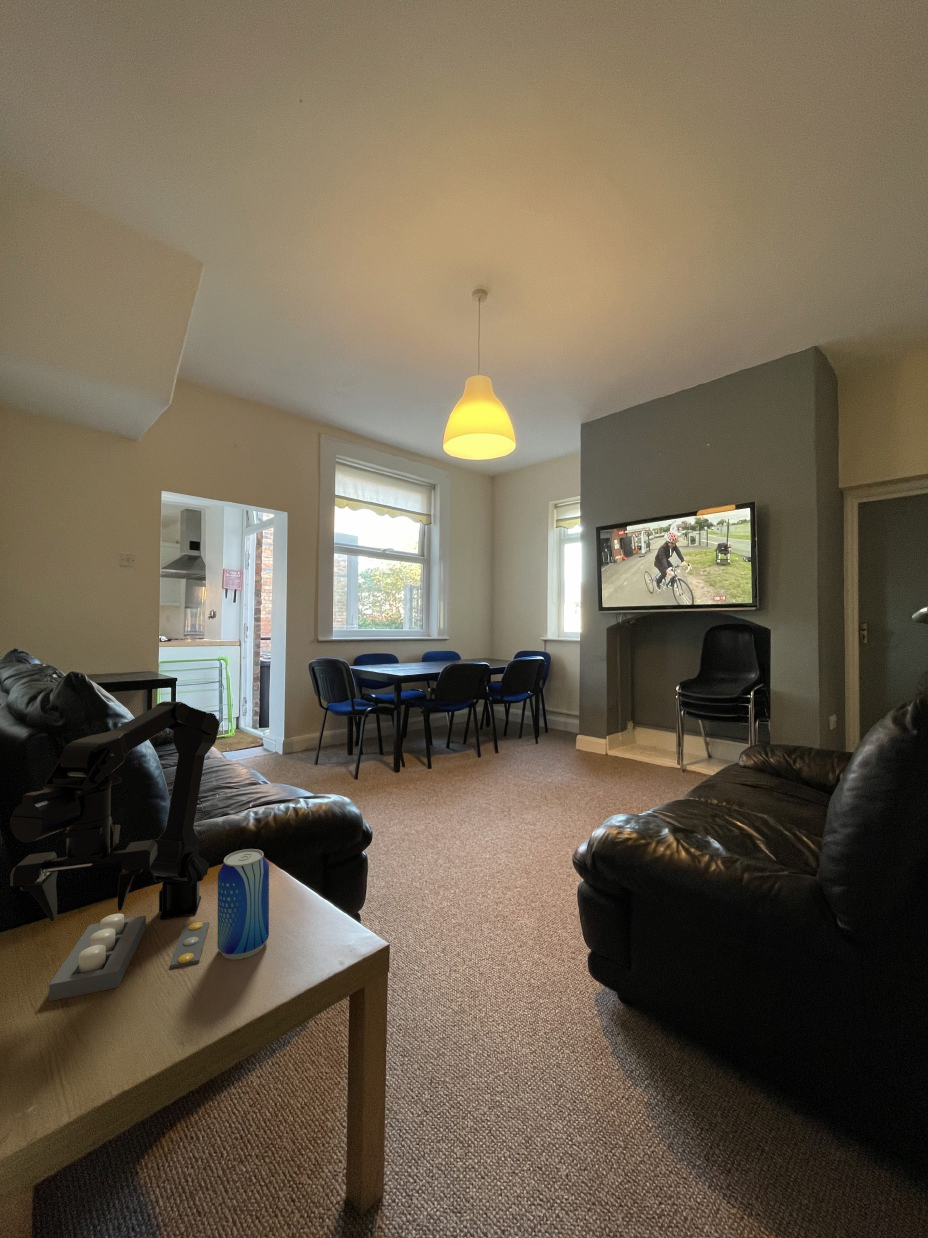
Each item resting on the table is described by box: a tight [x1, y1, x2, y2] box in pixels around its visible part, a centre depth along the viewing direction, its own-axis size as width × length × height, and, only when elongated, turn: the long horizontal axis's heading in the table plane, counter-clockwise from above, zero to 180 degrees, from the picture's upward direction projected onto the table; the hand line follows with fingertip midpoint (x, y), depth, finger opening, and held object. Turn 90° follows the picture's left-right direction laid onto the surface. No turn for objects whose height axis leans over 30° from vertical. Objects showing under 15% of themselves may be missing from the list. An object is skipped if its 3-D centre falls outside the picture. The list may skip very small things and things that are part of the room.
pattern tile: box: [169, 921, 210, 969], centre depth 92 cm, size 4×12×1 cm, turn 19°
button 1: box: [79, 945, 106, 973], centre depth 83 cm, size 4×4×2 cm
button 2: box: [99, 913, 125, 936], centre depth 93 cm, size 4×4×2 cm
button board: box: [48, 915, 147, 1002], centre depth 88 cm, size 9×17×2 cm, turn 19°
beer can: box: [216, 848, 270, 961], centre depth 92 cm, size 8×8×16 cm
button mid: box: [90, 928, 115, 952], centre depth 88 cm, size 4×4×2 cm
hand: (87, 914), depth 84 cm, fingers open, 9 cm apart
